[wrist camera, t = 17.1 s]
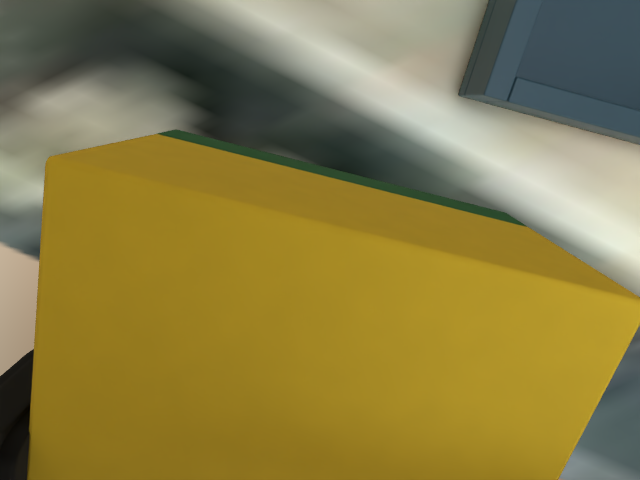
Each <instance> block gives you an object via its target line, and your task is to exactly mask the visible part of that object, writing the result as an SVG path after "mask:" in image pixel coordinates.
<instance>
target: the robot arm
mask: <svg viewBox="0 0 640 480" xmlns="http://www.w3.org/2000/svg"><path fill="white" fill-rule="evenodd" d="M33 358H34V349H33V350H32V351H30V352H29V353H27V354H26V355H25V356H24V357H22V358H21V359H20V360H19V361H18V362H17V363H15V364H14V365H13V366H12V367H11V368H10V369H9V370H7V371H6V372H5V373H4V374H3V375H1V376H0V480H27V470H28V454H29V438H30V432H29V423H30V406H31V390H32V374H33Z"/></svg>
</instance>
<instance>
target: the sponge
mask: <svg viewBox="0 0 640 480" xmlns="http://www.w3.org/2000/svg"><path fill="white" fill-rule="evenodd" d="M639 325H640V297H638V296H637V295H635V294H633V293H632V292H630V291H629V290H627V289H626V288H624V287H622V286H621V285H619V284H618V283H616V282H614V281H613V280H611V279H610V278H608V277H606V276H605V275H603V274H602V273H600V272H598V271H597V270H595V269H594V268H592V267H591V266H589V265H587V264H586V263H584V262H583V261H581V260H579V259H578V258H576V257H575V256H573V255H571V254H570V253H568V252H567V251H565V250H564V249H562V248H560V247H559V246H557V245H556V244H554V243H552V242H551V241H549V240H548V239H546V238H544V237H543V236H541V235H540V234H538V233H537V232H535V231H533V230H532V229H530V228H529V227H527V226H525V225H524V224H523V223H521V222H519V221H518V220H516V219H515V218H513V217H511V216H510V215H508V214H507V213H504V212H500V211H496V210H492V209H488V208H484V207H481V206H477V205H473V204H469V203H465V202H461V201H457V200H453V199H449V198H445V197H441V196H437V195H433V194H429V193H425V192H421V191H417V190H413V189H409V188H405V187H401V186H398V185H394V184H390V183H386V182H382V181H378V180H374V179H370V178H366V177H362V176H358V175H354V174H350V173H346V172H342V171H338V170H334V169H330V168H326V167H322V166H318V165H315V164H311V163H307V162H303V161H299V160H295V159H291V158H287V157H283V156H279V155H275V154H271V153H267V152H263V151H259V150H255V149H251V148H247V147H243V146H239V145H235V144H232V143H228V142H224V141H220V140H216V139H212V138H208V137H204V136H200V135H196V134H192V133H188V132H184V131H180V130H172V131H167V132H162V133H157V134H154V135H149V136H144V137H140V138H135V139H130V140H125V141H121V142H116V143H111V144H106V145H102V146H97V147H92V148H88V149H83V150H78V151H73V152H69V153H64V154H59V155H55V156H50V157H49V158H48V159H47V161H46V165H45V181H44V197H43V213H42V229H41V245H40V261H39V279H38V295H37V311H36V326H35V342H34V358H33V374H32V390H31V406H30V423H29V432H30V438H29V454H28V470H27V480H558V479H559V477H560V475H561V473H562V471H563V469H564V467H565V465H566V463H567V462H568V460H569V458H570V456H571V454H572V452H573V450H574V448H575V446H576V444H577V443H578V441H579V439H580V437H581V435H582V433H583V431H584V429H585V427H586V425H587V424H588V422H589V420H590V418H591V416H592V414H593V412H594V410H595V408H596V406H597V405H598V403H599V401H600V399H601V397H602V395H603V393H604V391H605V389H606V387H607V386H608V384H609V382H610V380H611V378H612V376H613V374H614V372H615V370H616V368H617V367H618V365H619V363H620V361H621V359H622V357H623V355H624V353H625V351H626V349H627V348H628V346H629V344H630V342H631V340H632V338H633V336H634V334H635V332H636V330H637V329H638V327H639Z"/></svg>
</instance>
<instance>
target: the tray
mask: <svg viewBox="0 0 640 480" xmlns="http://www.w3.org/2000/svg"><path fill="white" fill-rule="evenodd" d="M459 96H461V97H465V98H469V99H472V100H476V101H480V102H483V103H487V104H491V105H495V106H498V107H502V108H506V109H509V110H513V111H517V112H521V113H524V114H528V115H532V116H535V117H539V118H543V119H547V120H550V121H554V122H558V123H561V124H565V125H569V126H573V127H576V128H580V129H584V130H587V131H591V132H595V133H599V134H602V135H606V136H610V137H613V138H617V139H621V140H624V141H628V142H632V143H636V144H639V145H640V0H489V3H488V6H487V9H486V12H485V15H484V18H483V21H482V24H481V27H480V30H479V33H478V36H477V39H476V42H475V45H474V49H473V52H472V55H471V58H470V61H469V64H468V67H467V70H466V73H465V76H464V79H463V82H462V85H461V88H460V91H459Z"/></svg>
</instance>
